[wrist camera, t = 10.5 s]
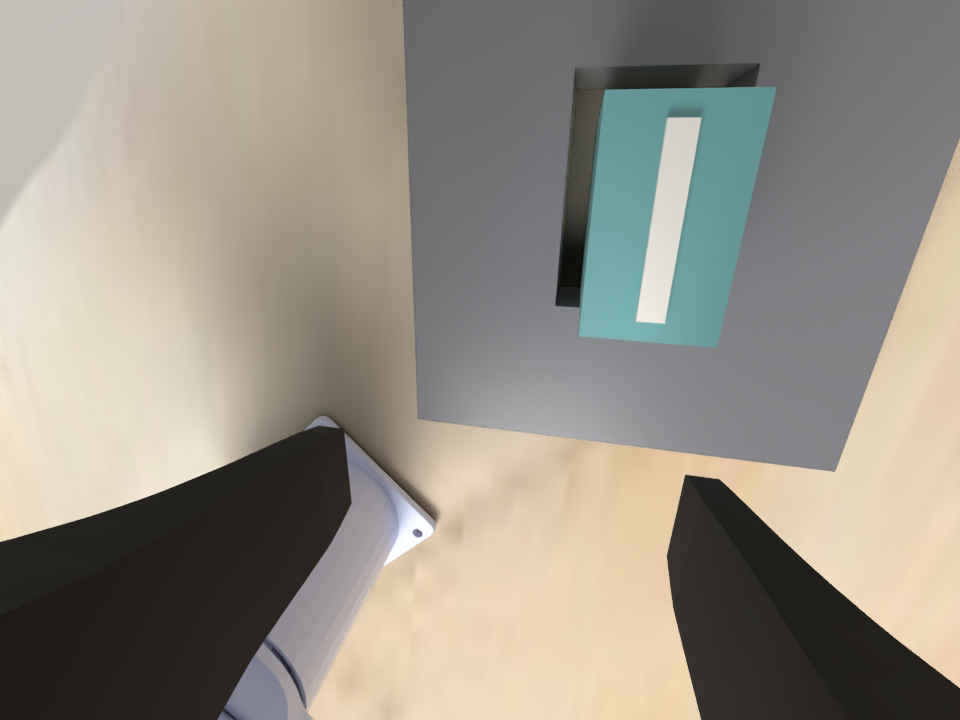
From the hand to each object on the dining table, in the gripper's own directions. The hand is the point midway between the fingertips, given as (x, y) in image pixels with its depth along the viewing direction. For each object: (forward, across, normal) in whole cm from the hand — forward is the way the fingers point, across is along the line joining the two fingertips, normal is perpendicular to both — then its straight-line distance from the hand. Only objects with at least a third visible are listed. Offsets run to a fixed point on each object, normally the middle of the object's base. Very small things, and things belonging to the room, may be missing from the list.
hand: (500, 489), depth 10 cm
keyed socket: (+9, -3, -6) cm, 11 cm away
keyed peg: (+10, -3, -5) cm, 11 cm away
